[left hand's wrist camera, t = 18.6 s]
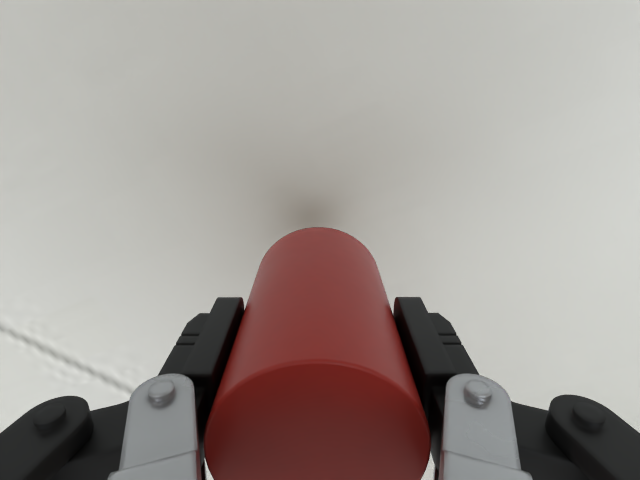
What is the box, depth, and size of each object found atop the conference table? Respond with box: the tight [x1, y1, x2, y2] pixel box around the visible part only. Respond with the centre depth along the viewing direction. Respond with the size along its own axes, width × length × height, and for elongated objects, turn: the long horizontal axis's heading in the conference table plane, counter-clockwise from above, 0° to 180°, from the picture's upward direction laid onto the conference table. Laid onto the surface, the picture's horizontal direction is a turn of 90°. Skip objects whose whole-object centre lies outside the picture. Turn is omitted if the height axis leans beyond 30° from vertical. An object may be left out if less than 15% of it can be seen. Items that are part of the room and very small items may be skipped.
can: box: [204, 227, 431, 480], centre depth 11 cm, size 5×5×8 cm
